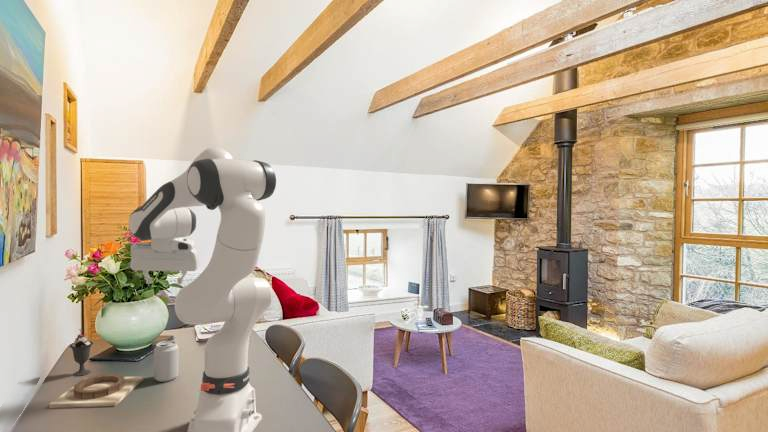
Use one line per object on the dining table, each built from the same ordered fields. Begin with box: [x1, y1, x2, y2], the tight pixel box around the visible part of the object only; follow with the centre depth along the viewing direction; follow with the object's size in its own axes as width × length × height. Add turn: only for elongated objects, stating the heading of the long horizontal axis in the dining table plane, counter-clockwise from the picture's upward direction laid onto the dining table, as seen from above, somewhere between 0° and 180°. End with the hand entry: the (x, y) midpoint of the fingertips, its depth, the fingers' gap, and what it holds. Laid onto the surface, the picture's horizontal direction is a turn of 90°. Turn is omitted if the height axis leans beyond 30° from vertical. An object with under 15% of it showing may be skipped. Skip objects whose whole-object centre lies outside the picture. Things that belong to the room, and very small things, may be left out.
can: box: [153, 340, 180, 383], centre depth 146 cm, size 8×8×12 cm
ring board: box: [48, 373, 144, 409], centre depth 135 cm, size 18×18×3 cm
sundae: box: [69, 328, 94, 377], centre depth 149 cm, size 7×7×15 cm
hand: (164, 283), depth 146 cm, fingers open, 8 cm apart
